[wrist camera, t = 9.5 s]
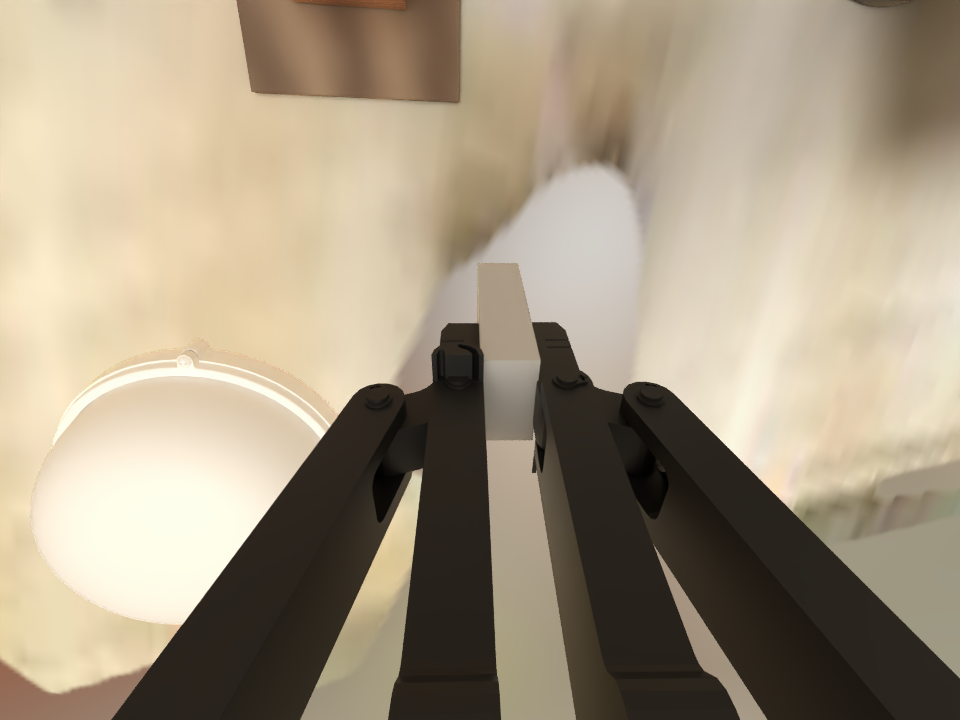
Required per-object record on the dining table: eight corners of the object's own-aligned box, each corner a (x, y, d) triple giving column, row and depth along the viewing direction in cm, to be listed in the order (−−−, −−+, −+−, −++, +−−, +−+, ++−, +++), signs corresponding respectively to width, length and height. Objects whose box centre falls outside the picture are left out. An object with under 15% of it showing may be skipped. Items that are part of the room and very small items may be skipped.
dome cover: (357, 561, 61) (340, 672, 48) (109, 565, 56) (20, 688, 44) (356, 346, 47) (332, 423, 34) (27, 327, 42) (-139, 408, 30)
